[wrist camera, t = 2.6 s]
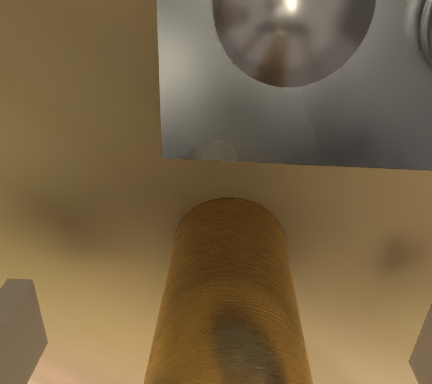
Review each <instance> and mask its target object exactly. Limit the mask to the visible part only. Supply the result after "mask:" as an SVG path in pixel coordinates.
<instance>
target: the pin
mask: <svg viewBox="0 0 432 384" xmlns="http://www.w3.org/2000/svg"><path fill="white" fill-rule="evenodd" d="M144 384H313V382H312V377H311V372H310V367H309V362H308V357H307V351H306V346H305V341H304V336H303V331H302V326H301V321H300V316H299V311H298V306H297V301H296V295H295V290H294V285H293V280H292V275H291V270H290V265H289V260H288V255H287V250H286V245H285V239H284V235H283V231H282V229H281V227H280V225H279V223H278V221H277V220H276V219H275V217H274V216H273V215H272V214H271V213H270V212H268V211H267V210H266V209H264V208H263V207H261V206H259V205H257V204H255V203H253V202H250V201H247V200H242V199H236V198H223V199H216V200H212V201H209V202H206V203H203V204H201V205H199V206H197V207H196V208H194V209H193V210H192V211H190V212H189V213H188V214H187V215H186V216H185V217H184V219H183V220H182V221H181V223H180V225H179V227H178V229H177V232H176V237H175V242H174V246H173V251H172V255H171V260H170V265H169V269H168V274H167V278H166V283H165V288H164V292H163V297H162V301H161V306H160V311H159V315H158V320H157V324H156V329H155V334H154V338H153V343H152V347H151V352H150V357H149V361H148V366H147V370H146V375H145V380H144Z"/></svg>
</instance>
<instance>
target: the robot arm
mask: <svg viewBox="0 0 432 384" xmlns="http://www.w3.org/2000/svg"><path fill="white" fill-rule="evenodd" d="M47 343H48V341H47V337H46V332H45V328H44V324H43V320H42V316H41V312H40V308H39V304H38V300H37V295H36V291H35V287H34V283H33V280H26V279H7V281H6V282H5V283H4V285H3V286H2V287H1V289H0V384H27V383H28V381H29V379H30V377H31V375H32V373H33V371H34V369H35V367H36V365H37V363H38V361H39V359H40V357H41V355H42V353H43V351H44V349H45V347H46V345H47ZM409 364H410V366H411V368H412V370H413V372H414V375H415V377H416V379H417V381H418V383H419V384H432V304H431V306H430V309H429V311H428V314H427V316H426V319H425V321H424V324H423V326H422V329H421V331H420V334H419V337H418V339H417V342H416V344H415V347H414V349H413V352H412V354H411V357H410V359H409Z"/></svg>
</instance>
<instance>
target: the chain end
mask: <svg viewBox="0 0 432 384" xmlns="http://www.w3.org/2000/svg"><path fill="white" fill-rule="evenodd" d="M157 26H158V55H159V84H160V113H161V142H162V158H169V159H191V160H213V161H235V162H256V163H278V164H300V165H322V166H344V167H366V168H388V169H410V170H432V0H157Z"/></svg>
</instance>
